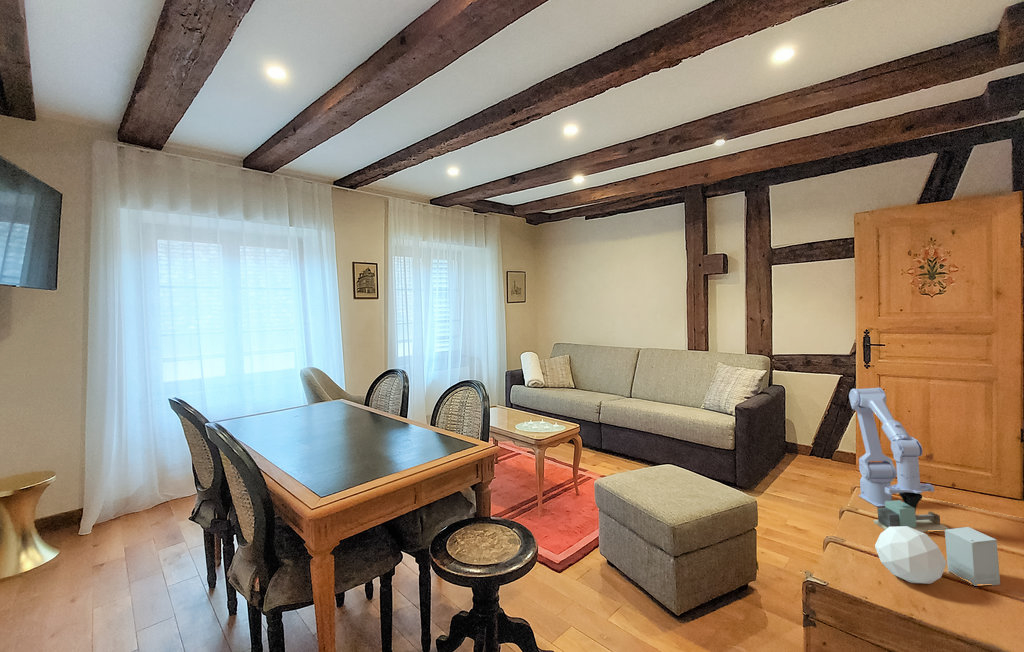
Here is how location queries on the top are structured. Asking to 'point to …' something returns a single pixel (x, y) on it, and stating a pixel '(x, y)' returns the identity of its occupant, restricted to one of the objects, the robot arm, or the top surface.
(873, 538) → the top surface
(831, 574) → the top surface
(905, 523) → the sleeve
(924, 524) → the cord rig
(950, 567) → the supplement box
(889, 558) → the geometric sphere
